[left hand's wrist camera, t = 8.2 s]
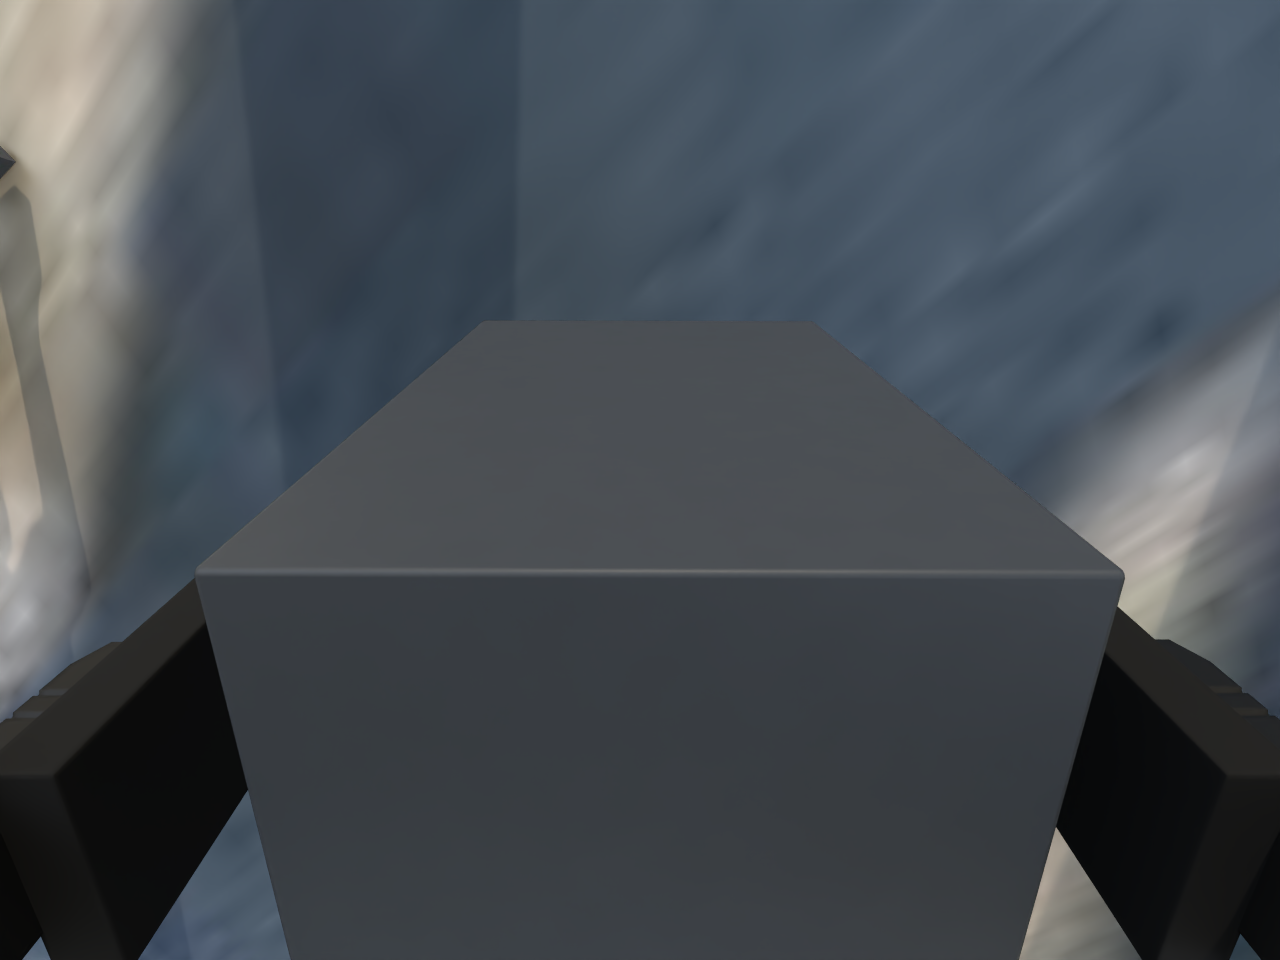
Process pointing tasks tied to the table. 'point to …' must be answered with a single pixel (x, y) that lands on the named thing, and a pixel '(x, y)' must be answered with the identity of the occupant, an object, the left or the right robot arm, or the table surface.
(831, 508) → the box
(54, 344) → the table surface
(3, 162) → the toy
